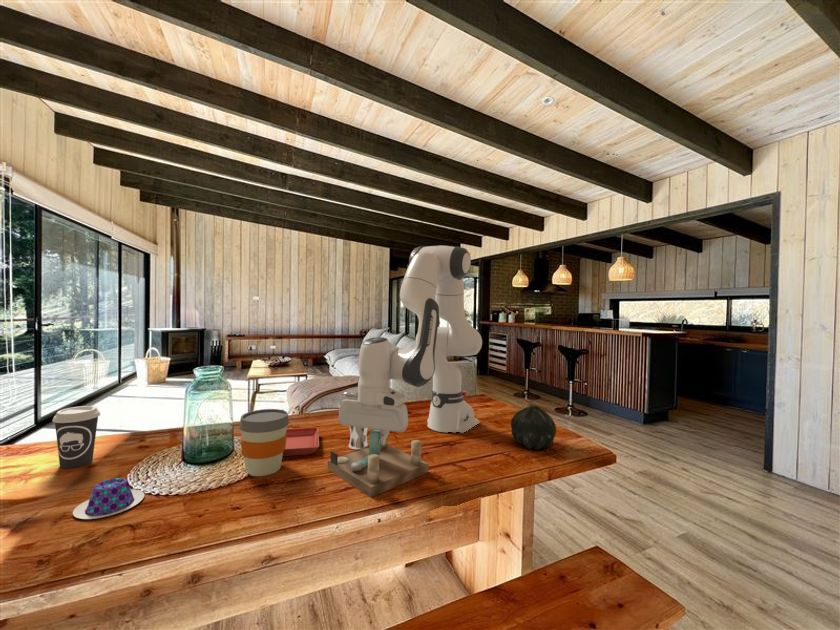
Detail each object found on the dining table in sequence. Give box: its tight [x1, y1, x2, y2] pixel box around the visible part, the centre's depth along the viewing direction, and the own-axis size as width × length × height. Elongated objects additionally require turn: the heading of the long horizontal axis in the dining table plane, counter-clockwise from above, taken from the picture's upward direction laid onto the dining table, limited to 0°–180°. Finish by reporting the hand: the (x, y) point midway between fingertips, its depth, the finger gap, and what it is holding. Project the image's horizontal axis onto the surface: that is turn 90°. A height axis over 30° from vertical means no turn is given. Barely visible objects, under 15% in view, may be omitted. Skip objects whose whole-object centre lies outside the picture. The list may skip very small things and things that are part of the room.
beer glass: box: [348, 426, 369, 451], centre depth 116 cm, size 7×7×15 cm
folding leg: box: [351, 429, 381, 471], centre depth 97 cm, size 11×3×8 cm, turn 152°
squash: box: [510, 405, 557, 451], centre depth 122 cm, size 14×15×15 cm
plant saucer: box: [282, 427, 320, 457], centre depth 114 cm, size 18×18×3 cm
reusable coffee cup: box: [238, 408, 290, 477], centre depth 98 cm, size 13×13×15 cm
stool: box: [327, 430, 429, 498], centre depth 99 cm, size 20×20×8 cm
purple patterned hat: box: [72, 477, 145, 520], centre depth 79 cm, size 12×12×5 cm
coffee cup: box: [52, 405, 101, 470], centre depth 98 cm, size 10×10×15 cm
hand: (372, 443), depth 101 cm, fingers open, 5 cm apart
